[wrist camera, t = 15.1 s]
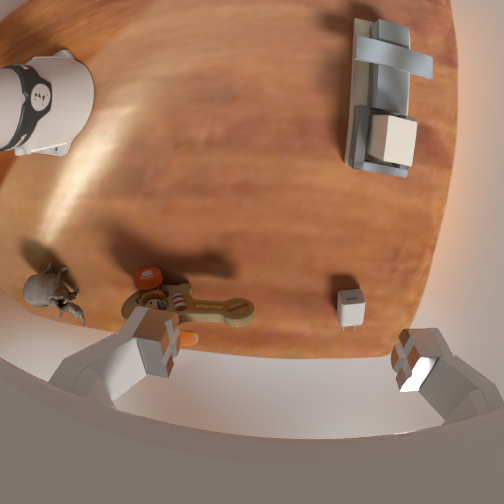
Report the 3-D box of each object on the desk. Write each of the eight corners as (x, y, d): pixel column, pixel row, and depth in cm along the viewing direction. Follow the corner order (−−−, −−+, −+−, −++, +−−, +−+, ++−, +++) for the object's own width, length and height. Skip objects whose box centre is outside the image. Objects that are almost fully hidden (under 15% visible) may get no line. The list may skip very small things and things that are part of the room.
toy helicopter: (134, 265, 46) (95, 313, 34) (256, 267, 44) (246, 326, 32) (145, 304, 50) (113, 355, 38) (257, 309, 48) (250, 372, 36)
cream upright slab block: (363, 151, 34) (383, 160, 27) (366, 114, 32) (388, 115, 24) (387, 155, 34) (411, 166, 26) (391, 120, 31) (417, 122, 24)
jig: (336, 162, 36) (346, 169, 31) (345, 19, 27) (356, 4, 21) (402, 172, 35) (420, 182, 30) (412, 36, 26) (431, 27, 21)
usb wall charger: (360, 288, 44) (366, 302, 41) (357, 320, 47) (362, 336, 44) (337, 290, 45) (341, 305, 41) (335, 323, 48) (338, 338, 44)
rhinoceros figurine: (22, 252, 45) (12, 304, 35) (78, 248, 53) (80, 299, 43) (28, 280, 49) (24, 332, 40) (81, 276, 57) (86, 327, 47)
